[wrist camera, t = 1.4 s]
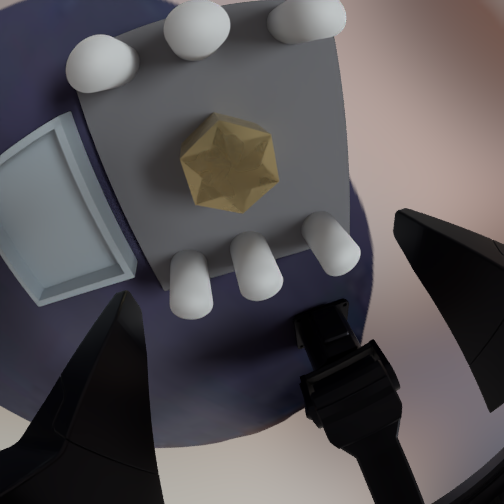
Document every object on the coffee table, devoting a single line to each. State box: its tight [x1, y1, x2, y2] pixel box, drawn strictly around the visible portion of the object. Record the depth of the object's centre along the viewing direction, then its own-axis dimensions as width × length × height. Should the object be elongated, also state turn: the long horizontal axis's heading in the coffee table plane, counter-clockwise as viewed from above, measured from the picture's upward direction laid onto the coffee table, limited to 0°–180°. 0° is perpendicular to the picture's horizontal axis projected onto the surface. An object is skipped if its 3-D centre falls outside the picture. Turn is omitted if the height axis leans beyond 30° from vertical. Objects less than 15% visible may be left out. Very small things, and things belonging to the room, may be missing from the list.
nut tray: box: [0, 111, 138, 307], centre depth 16 cm, size 13×11×2 cm
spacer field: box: [66, 0, 360, 319], centre depth 16 cm, size 20×17×5 cm
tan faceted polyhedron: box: [180, 112, 279, 214], centre depth 16 cm, size 6×5×4 cm
